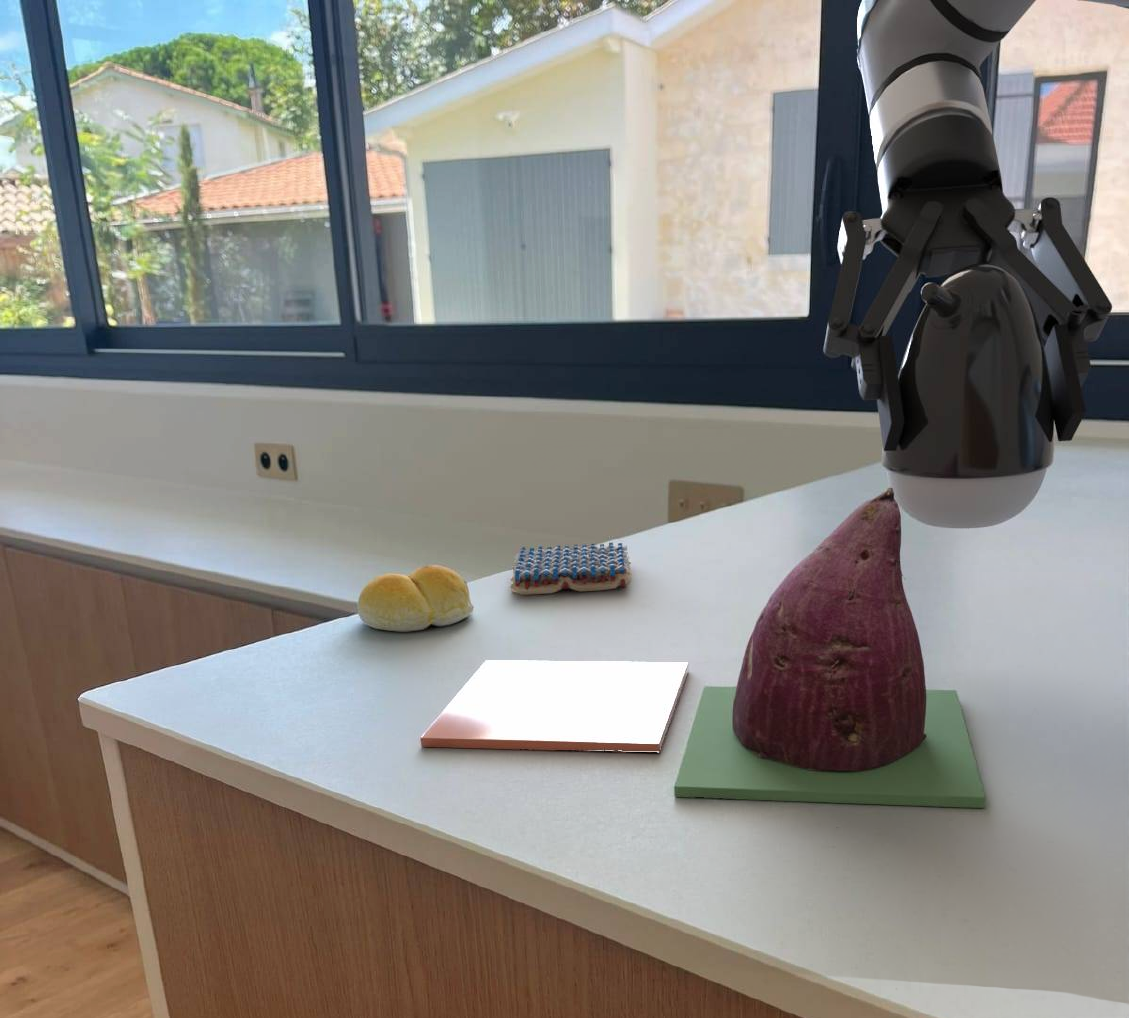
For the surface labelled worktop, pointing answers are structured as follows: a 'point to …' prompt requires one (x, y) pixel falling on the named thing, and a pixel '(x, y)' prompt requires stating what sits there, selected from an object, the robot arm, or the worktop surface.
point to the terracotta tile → (561, 706)
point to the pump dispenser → (973, 404)
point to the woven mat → (570, 569)
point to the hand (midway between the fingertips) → (982, 431)
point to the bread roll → (415, 600)
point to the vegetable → (837, 655)
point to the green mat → (914, 779)
